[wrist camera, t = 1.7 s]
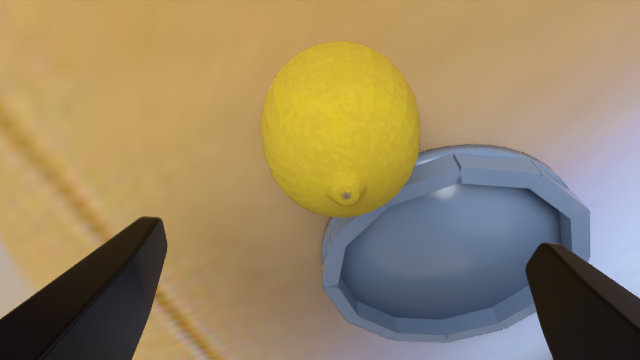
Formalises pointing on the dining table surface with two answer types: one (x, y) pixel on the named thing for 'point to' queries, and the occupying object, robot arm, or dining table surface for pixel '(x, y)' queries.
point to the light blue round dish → (451, 245)
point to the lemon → (340, 129)
